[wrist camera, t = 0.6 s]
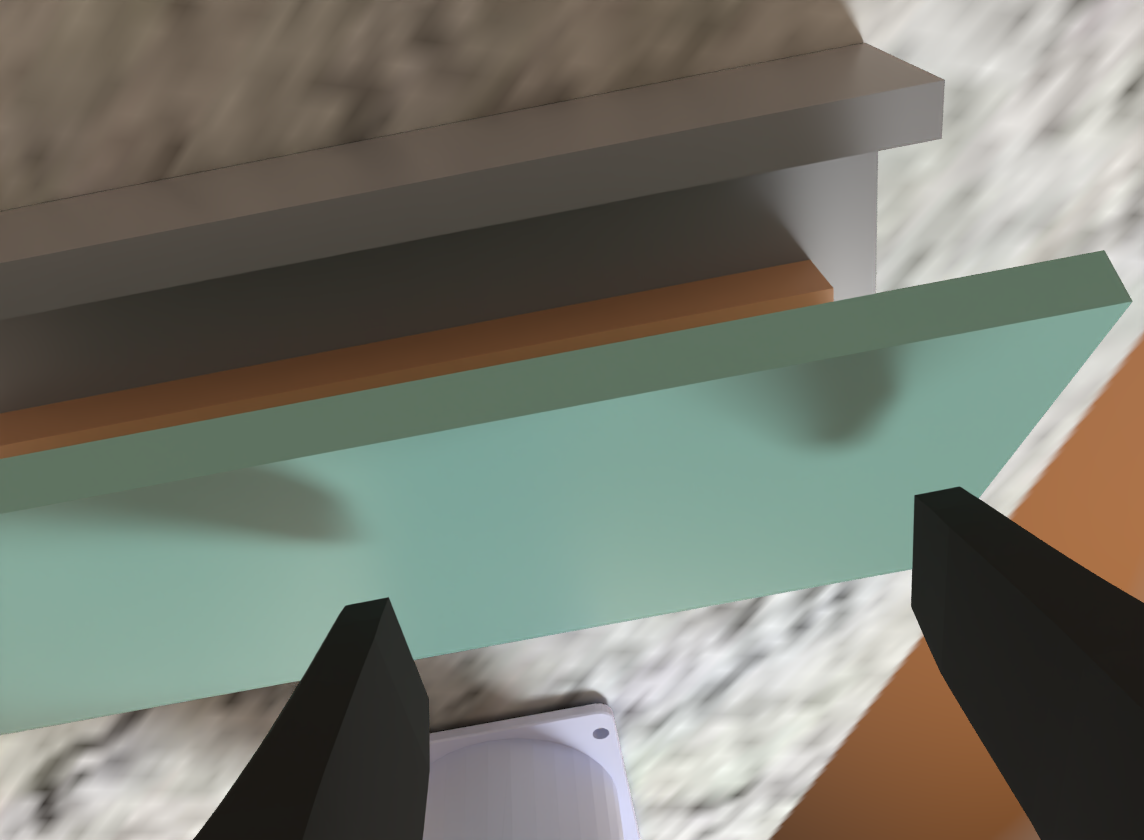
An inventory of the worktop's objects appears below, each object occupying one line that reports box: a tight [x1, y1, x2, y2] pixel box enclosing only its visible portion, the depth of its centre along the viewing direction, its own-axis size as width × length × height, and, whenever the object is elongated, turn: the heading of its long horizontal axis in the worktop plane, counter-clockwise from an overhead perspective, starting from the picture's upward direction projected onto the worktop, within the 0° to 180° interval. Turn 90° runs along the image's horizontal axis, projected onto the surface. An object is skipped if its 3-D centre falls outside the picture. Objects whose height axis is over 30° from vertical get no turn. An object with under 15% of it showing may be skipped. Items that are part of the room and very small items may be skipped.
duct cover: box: [0, 250, 1133, 735], centre depth 16 cm, size 10×22×1 cm, turn 101°
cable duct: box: [0, 43, 945, 459], centre depth 20 cm, size 11×22×4 cm, turn 100°
